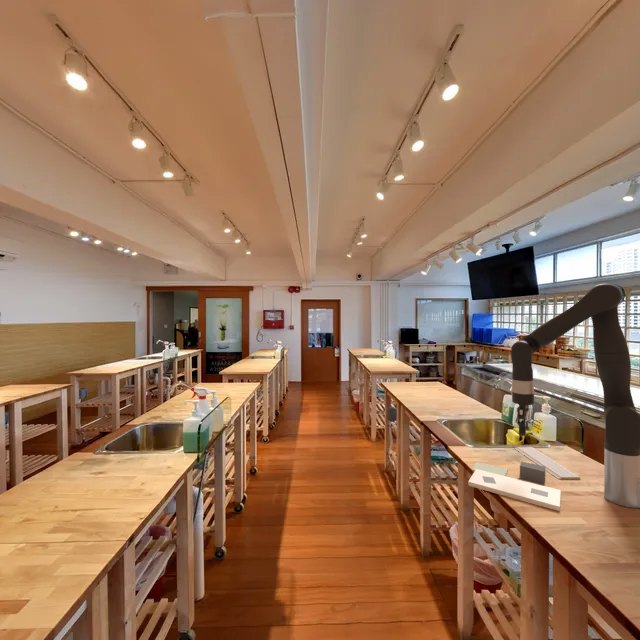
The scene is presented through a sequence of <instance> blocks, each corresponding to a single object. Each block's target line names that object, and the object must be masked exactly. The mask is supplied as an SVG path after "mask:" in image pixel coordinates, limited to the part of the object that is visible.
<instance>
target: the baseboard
mask: <svg viewBox="0 0 640 640" xmlns="http://www.w3.org/2000/svg"><path fill="white" fill-rule="evenodd" d="M520 444H521V443H520ZM512 448H514V450H516V452H518V451H519V454H521V453H522V454H521V455H523V456H524V455H525V456H524V457H526V458H527V459H529V460H530V461H531V462H533V464H534V463H535V465H540V466H544V467H545V472H548V473H549V474H550V475H551V476H553V477H554V478H556V479H558V480H581V477H580V476H579V475H577V474H576V473H574V472H572V470H570V469H568V468H566V467H564V466H563V465H561V464H560V463H558V462H557V461H555V460H554V459H552V458H550V457H549V456H547V455H546V454H544V453H542V452H541V451H539V450H538V449H536V448H534V447H533V445H532V444H531V445H528V444H527V445H526V444H525V443H524V444H521V445H519V446H517V447H515V445H513V446H512Z"/></svg>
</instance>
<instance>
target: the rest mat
mask: <svg viewBox="0 0 640 640" xmlns="http://www.w3.org/2000/svg"><path fill="white" fill-rule="evenodd" d="M476 469H478V470H482V471H486V472H490V473H494V474H498V475H502V476H506V475H507V472H508V469H507V468H504V467H499V466H496V465H491V464H488V463H487V464H486V463H483V462H479V461H476V462H475V464H473V466H472V467H471V471H472V472H475V470H476ZM506 477H507V476H506Z"/></svg>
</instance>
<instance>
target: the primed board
mask: <svg viewBox="0 0 640 640" xmlns="http://www.w3.org/2000/svg"><path fill="white" fill-rule="evenodd" d="M467 483H468V484H467V485H468V486H469V487H472V488H476V489H480V490H483V491H487V492H489V493H493V494H497V495H502V496H504V497H507V498H511V499H515V500H518V501H523V502H525V503H529V504H533V505H536V506H540V507H542V508H543V507H544V508H546V509H550V510H554V511H556V512H557V511H558V512H561V498H562V497H561V495H562V494H561V492H562V491H561V489H558V488H554V487H549V486H547V485H546V486H545V485H540V484H536V483H532V482H528V481H524V480H520V479H519V478H518V479H517V478H514V477H509V476H502V475H498V474H494V473H490V472H486V471H482V470H478V469H476V470H475V471H473V473H472V475H471V477H470V478H469V480H468V482H467Z"/></svg>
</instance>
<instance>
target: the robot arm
mask: <svg viewBox="0 0 640 640" xmlns="http://www.w3.org/2000/svg"><path fill="white" fill-rule="evenodd" d="M621 300H622V293H621V291H620V289H619V288H618V287H617V286H616V285H613V284H609V283H600V284H596V285H594V286H593V287H591V288H590V289H589V290H587V292H586V294H585V295H584V296H583V297H581V299H580V300H579V301H577V302H576V303H574V304H573V305H572V306H570V307H568V309H566V310H564V311H563V312H561V313H560V314H558V315H556V316H554V317H552V318H551V319H549V320H547V321H546V322H545V323H543V324H542V325H540V326H538V327H537V328H535V329H534V330H533V331H532V332H531V333H529V334H527V335H525V336H523V337H522V338H521V339H519V340H517V341H516V342H513V344H512V346H511V348H510V356H511V363H512V367H511V368H512V371H511V372H512V374H511V376H512V377H511V378H512V382H511V402H512V403H513V404H516V405H518V406H517V408H516V412H517V413H516V419H517V422H516V424H517V426H518V435H519V436H522V437H526V435H527V431H528V430H529V417H530V407H529V406H533V405H534V404H535V385H534V371H533V370H534V369H533V366H532V363H533V362H532V361H533V354H534V353H536V352H538V351H539V350H540V349H541V348H543V347H545V346H548V345H550V344H552V343H553V342H555V341H556V340H558V339H559V338H561V337H562V336H564V335H565V334H567V333H568V332H570V331H571V330H572V329H574V328H575V327H576V326H578V325H580V324H581V323H583V322H585V321H587V320H588V319H591V322H592V335H593V336H592V339H593V340H592V341H593V343H592V344H593V351H594V359H595V365H596V369H597V373H598V376H599V379H600V383H601V386H602V392H603V415H604V419H605V421H604V422H605V426H604V427H605V428H604V430H605V432H604V433H605V434H604V435H605V437H604V440H603V441H604V455H603V456H604V457H603V458H604V464H603V465H604V468H603V469H604V472H603V474H604V476H603V477H604V478H603V479H604V481H603V482H604V483H603V484H604V485H603V486H604V487H603V493H604V494H603V495H604V498H605V499H606V500H608V501H609V502H611V503H614V504H616V505H618V506H622V507H626V508H631V509H632V508H634V509H636V508H638V509H640V414H639V413H638V411H637V409H636V407H635V404H634V403H635V402H634V400H633V397H632V396H633V395H632V392H631V380H632V379H631V377H632V376H631V375H632V364H631V363H632V362H631V355H630V351H629V346H628V342H627V340H626V336H625V334H624V332H623V329H622V327H621V325H620V320H619V310H618V309H619V307H618V306H619V303H620V302H621Z"/></svg>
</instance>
